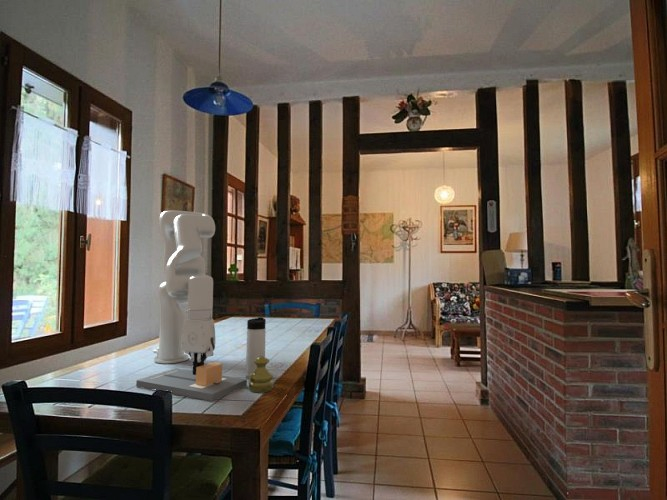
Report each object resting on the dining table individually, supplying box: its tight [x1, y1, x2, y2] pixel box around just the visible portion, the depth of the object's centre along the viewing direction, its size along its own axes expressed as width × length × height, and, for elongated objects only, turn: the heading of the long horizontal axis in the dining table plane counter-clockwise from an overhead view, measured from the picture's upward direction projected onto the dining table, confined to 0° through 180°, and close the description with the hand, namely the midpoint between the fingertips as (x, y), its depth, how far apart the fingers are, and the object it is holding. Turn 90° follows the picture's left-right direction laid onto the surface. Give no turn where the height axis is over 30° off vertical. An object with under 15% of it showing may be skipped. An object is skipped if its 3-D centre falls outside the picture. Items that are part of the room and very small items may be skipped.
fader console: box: [135, 368, 248, 402], centre depth 122 cm, size 30×16×2 cm, turn 66°
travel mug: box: [245, 317, 267, 380], centre depth 133 cm, size 6×7×20 cm
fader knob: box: [196, 362, 223, 386], centre depth 120 cm, size 4×7×5 cm, turn 156°
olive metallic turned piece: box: [248, 356, 274, 394], centre depth 120 cm, size 7×7×10 cm
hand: (198, 373), depth 121 cm, fingers closed
